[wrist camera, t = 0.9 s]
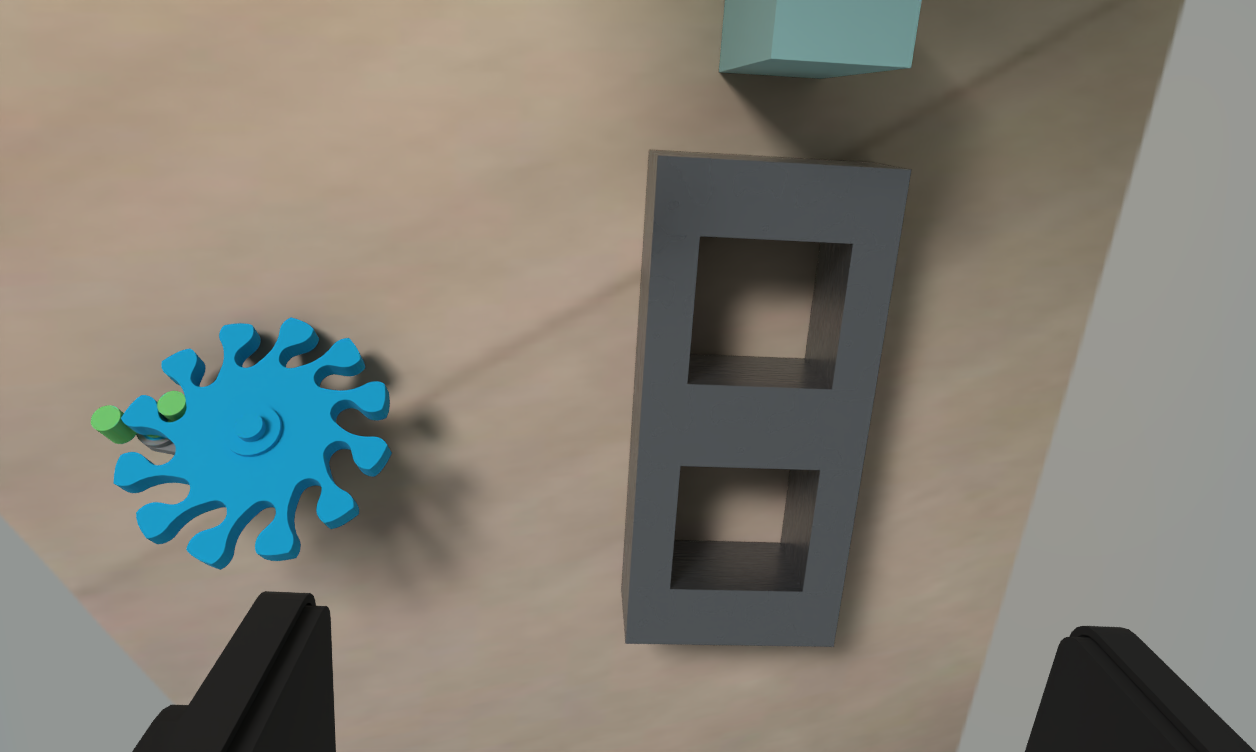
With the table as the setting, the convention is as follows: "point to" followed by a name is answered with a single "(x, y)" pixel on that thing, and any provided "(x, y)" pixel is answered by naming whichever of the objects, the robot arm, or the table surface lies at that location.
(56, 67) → the table surface
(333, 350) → the gear
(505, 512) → the table surface
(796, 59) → the peg
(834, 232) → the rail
